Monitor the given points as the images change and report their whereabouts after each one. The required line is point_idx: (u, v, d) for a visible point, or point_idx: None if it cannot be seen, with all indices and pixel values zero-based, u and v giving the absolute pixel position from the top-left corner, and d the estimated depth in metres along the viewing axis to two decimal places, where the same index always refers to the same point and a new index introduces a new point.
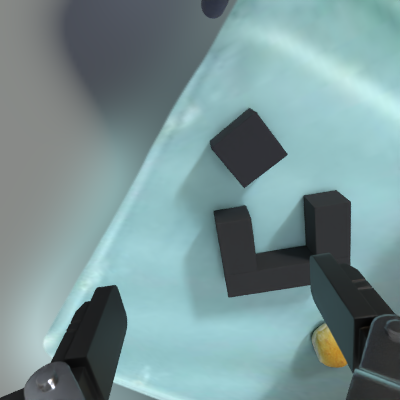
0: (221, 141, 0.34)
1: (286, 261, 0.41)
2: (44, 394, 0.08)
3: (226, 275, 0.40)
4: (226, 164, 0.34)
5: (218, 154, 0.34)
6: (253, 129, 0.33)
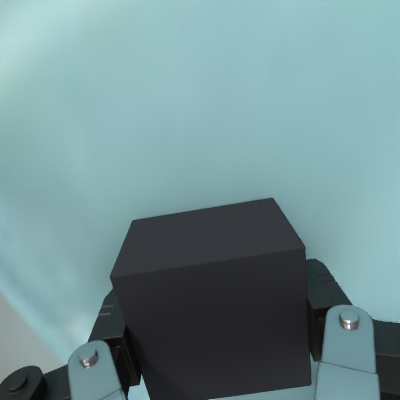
0: (147, 382, 0.11)
1: None
2: (88, 369, 0.09)
3: None
4: (216, 396, 0.12)
5: None
6: (161, 302, 0.10)
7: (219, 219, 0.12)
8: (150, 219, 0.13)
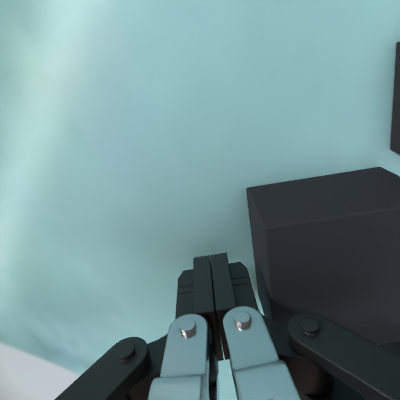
0: None
1: None
2: (192, 339, 0.09)
3: None
4: None
5: None
6: (306, 253, 0.11)
7: (339, 184, 0.13)
8: (265, 186, 0.14)
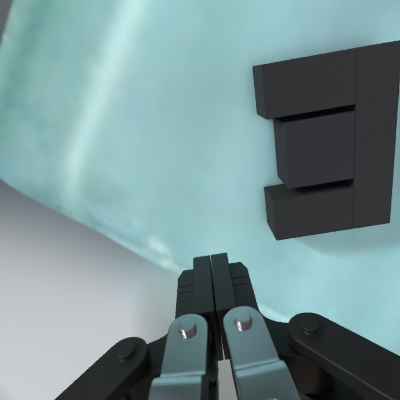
0: (289, 175, 0.28)
1: None
2: (192, 339, 0.09)
3: (353, 226, 0.30)
4: (315, 183, 0.28)
5: (299, 185, 0.28)
6: (301, 135, 0.27)
7: (315, 112, 0.29)
8: None
